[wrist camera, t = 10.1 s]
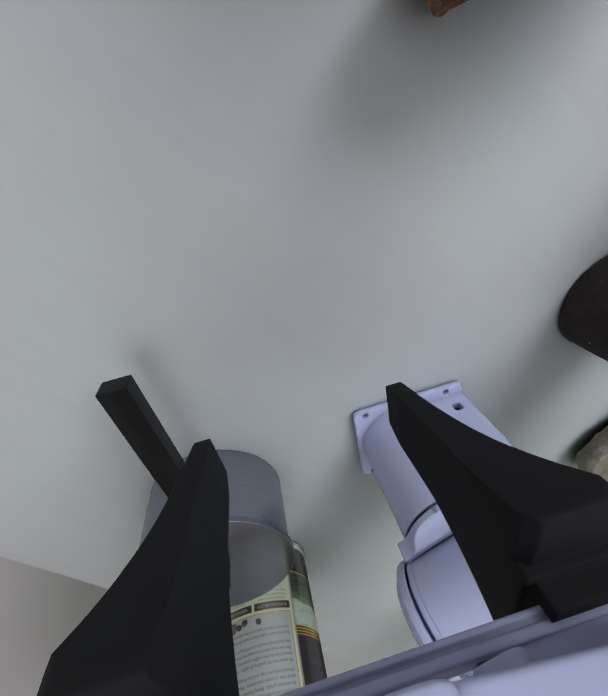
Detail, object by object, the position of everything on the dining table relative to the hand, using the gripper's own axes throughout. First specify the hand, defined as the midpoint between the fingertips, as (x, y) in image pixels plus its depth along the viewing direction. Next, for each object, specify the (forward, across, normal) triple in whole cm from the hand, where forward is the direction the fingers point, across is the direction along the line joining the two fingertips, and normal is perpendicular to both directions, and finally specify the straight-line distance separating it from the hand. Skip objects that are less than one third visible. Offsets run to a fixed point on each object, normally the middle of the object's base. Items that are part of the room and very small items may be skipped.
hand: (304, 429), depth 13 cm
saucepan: (+10, +9, +10) cm, 17 cm away
